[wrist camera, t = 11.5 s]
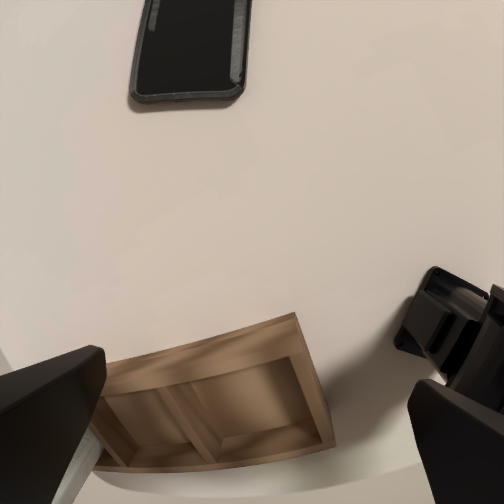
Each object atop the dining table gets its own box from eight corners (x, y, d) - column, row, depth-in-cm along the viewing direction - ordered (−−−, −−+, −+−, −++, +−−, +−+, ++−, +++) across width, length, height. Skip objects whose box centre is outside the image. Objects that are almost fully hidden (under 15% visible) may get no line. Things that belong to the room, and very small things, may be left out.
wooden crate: (294, 311, 20) (299, 345, 16) (329, 412, 22) (337, 452, 17) (35, 377, 24) (10, 399, 20) (82, 445, 26) (64, 470, 21)
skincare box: (58, 417, 23) (-2, 489, 12) (57, 391, 23) (-14, 467, 11) (109, 446, 24) (58, 531, 12) (111, 422, 23) (51, 515, 11)
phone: (255, -61, 14) (243, 97, 17) (256, -53, 15) (245, 102, 18) (158, -50, 14) (125, 103, 17) (162, -43, 15) (132, 106, 19)
